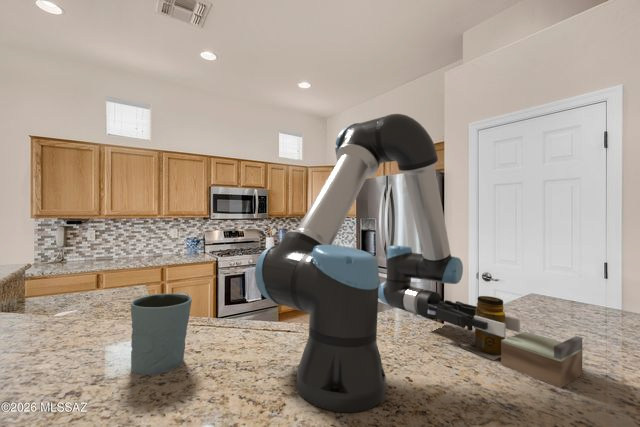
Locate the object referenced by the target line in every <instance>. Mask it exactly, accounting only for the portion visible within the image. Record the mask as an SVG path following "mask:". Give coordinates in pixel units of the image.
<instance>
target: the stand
mask: <svg viewBox="0 0 640 427" xmlns="http://www.w3.org/2000/svg"><path fill="white" fill-rule="evenodd" d="M500 365H501V366H504V367H506V368H509V369H511V370H514V371H517V372H519V373H521V374H524V375H526V376H530V377H531V378H534V379H537V380H539V381H541V382H544V383H546V384H549V385H551V386H554V387H557V388H559V389H562V388H563V387H565V386H566V385H568V384H569V383H571V382H573V381H574V380H575V379H577V378H578V377H580V376H581V375H583V337H581V336H577V335H576V336H573V337H570V338H568V339H567V340H564V341H559V340H556V339H552V338H548V337H545V336H542V335H538V334H534V333H530V332H527V331H523V332H521V333H517V334H515V335H512V336H509V337H505V339H503V340H501V357H500Z"/></svg>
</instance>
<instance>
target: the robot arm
mask: <svg viewBox="0 0 640 427" xmlns="http://www.w3.org/2000/svg"><path fill="white" fill-rule="evenodd" d="M335 146H336V147H335V148H334V149H335V155H336V164H335V166H334V167H333V169H331V171H330V174H329V176H328V177H327V178H326V180H325V182H324V184H323V185H322V187H321V188H320V189H319V192H318V193H317V194H316V197H315V198H314V200H313V202H312V203H311V205H310V207H308V209H307V212H306V213H305V215H304V216H303V218H302V219H301V221H300V223H299V224H298V226H297V228H296V229H292V230H288V231H287V232H285V234H284V236H283V237H282V239H281V241H280V242H279V244H278V245H274V246H273V245H272V246H270V247H268V248H265V250H263V252H261V254H260V255H259V256H258V258H257V260H256V263H255V267H254V279H255V285H256V287H257V290H258V291H259V293H260V294H261V295H262V297H264V298H265V299H267V300H269V301H272V302H273V303H274V304H276V305H280V306H285V307H288V308H290V309H294V310H297V311H299V312H300V311H301V312H303V313H306V314H309V323H308V326H309V327H308V338H307V341H306V344H305V347H304V350H303V352H302V355H301V359H300V361H299V364H298V366H297V369H296V380H295V381H296V389H297V392H298V393H299V394H300V396H301V397H302V398H303V399H304V400H306V401H307V402H308V403H310V404H312V405H313V406H316V407H319V408H321V409H325V410H328V411H333V412H339V413H356V412H364V411H367V410H370V409H373V408H374V407H376V406H378V405H379V404H381V402H382V401H383V400H384V399H385V397H386V392H387V378H386V377H387V376H386V372H385V370H384V368H383V363H382V359H381V354H380V352H379V348H378V342H377V339H378V338H377V337H378V336H377V334H378V333H377V331H378V311H379V309H378V307H379V300H380V301H381V302H382V303H383V304H386V305H387V306H390V307H392V308H396V309H399V310H403V311H405V312H408V313H411V314H413V316H416V317H417V316H421V317H423V318H426V319H428V320H437V319H438V320H439V321H441V322H442V321H443V322H446V323H448V324H452V325H454V326H457V327H459V328H463V329H464V328H467V331H470V332H472V331H473V328H474V329H475V328H476V329H479V330H482V331H486V332H489V333H492V334H495V335H498V336H501V337H505V338H507V337H506V336H507V333H506V332H507V331H506V330H510V331H513V332H517V333H520V332H521V319H520V318H515V317H511V316H507V315H505V324H504V323H501V322H497V321H493V320H490V319H486V318H483V317H479V316H475V310H476V308H477V305H472V304H468V303H463V302H461V301H458V300H457V301H455V302H453V301H452V300H447V299H445V300H444V299H443V297H442V295H441V294H440V293H438V292H437V291H433V290H427V289H424V288H421V287H416V286H412V284H411V283H412V279H416V280H417V279H418V280H424V281H431V282H436V283H441V284H448V285H450V284H451V285H457V284H458V283H460V282H461V280H462V279H463V278H462V277H463V272H464V270H463V269H464V266H463V261H462V260H461V259H460V257H458V256H452V254H451V249H450V248H451V247H450V243H449V238H448V232H447V226H446V222H445V216H444V210H443V204H442V199H441V194H440V189H439V188H440V187H439V183H438V182H439V181H438V178H437V172H436V165H437V164H438V162H439V158H438V153H437V148H436V146H435V143H434V141H433V139H432V137H431V136H430V133H429V132H428V131H427V130H426V128H425V127H424V126H422V124H421V123H420V122H418V121H417V120H416V119H415V118H413V117H410V116H408V115H405V114H402V113H391V114H388V115H384V116H381V117H377V118H374V119H370V120H366V121H363V122H357V123H352V124H350V125H348V126H345V127H344V128H343V129H342V130H341V131H340V132H339V133H338V135H337V137H336V140H335ZM390 162H391V163H392V162H396V163H397V166H398V167H397V168H398V171H399V172H401V173H403V176H404V181H405V185H406V189H407V192H408V197H409V201H410V206H411V211H412V215H413V216H412V217H413V219H414V225H415V228H416V234H417V236H418V240H419V241H418V242H419V246H420V250H421V251H420V252H421V253H417V252H413V249H412V247H411V246H407V245H390V246H388V247H387V253H386V255H387V256H386V278H385V281H382V282H381V281H380V275H379V262H378V260H377V258H376V257H375V256H374V255H373V254H372V253H370V252H368V251H365V250H361V249H358V248H353V247H348V246H341V245H336V244H335V245H334V242H335V239H336V237H337V236H338V234H339V232H340V230H341V228H342V226H343V224H344V222H345V221H346V218H347V216H348V215H349V213H350V211H351V209H352V206H353V205H354V203H355V201H356V199H357V197H358V195H359V193H360V191H361V189H362V187H363V185H364V184H365V181H367V179H369V178H372V177H373V176H374V175H375V174H377V171H378V169H379V167H380V166H381V164H383V163H390ZM380 282H381V283H380Z"/></svg>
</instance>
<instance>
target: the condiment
mask: <svg viewBox="0 0 640 427" xmlns="http://www.w3.org/2000/svg"><path fill="white" fill-rule="evenodd" d="M476 306H477V308H476V310H475V316H479V317H483V318H486V319H490V320H493V321H497V322H501V323H504V324H505V316H506V313H505V311H504V301H503V299H501V298H499V297H494V296H488V295H480V296H478V297H477V303H476ZM503 339H506V337H501V336H498V335H495V334H492V333H489V332H486V331H482V330H479V329H476V328H474V343H469V344H467V345H462V346H461V347H462V348H463V349H465V350H467V351H469V352H472V353H474V354H477V355H479V356H482V357H484V358H487V359H490V360H493V361H495V360H498V359H501V340H503Z"/></svg>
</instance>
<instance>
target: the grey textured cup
mask: <svg viewBox="0 0 640 427" xmlns="http://www.w3.org/2000/svg"><path fill="white" fill-rule="evenodd" d="M192 300H193V299H192V296H190V295H187V294H183V293H157V294H156V293H155V294H149V295H145V296H141V297H138V298H136V299H133V300H132V301H131V302H130V316H131V338H130V339H131V345H130V347H131V351H130V353H131V354H130V355H131V356H130V364H131V365H130V368H131V371H132V373H134V374H136V375H141V376H154V375H161V374H165V373H168V372H171V371H172V370H175V369H177V368H178V367H180V366H181V365H182V364H183V362H184V358H185V350H186V338H187V329H188V325H189V321H190V320H189V319H190V315H191V314H190V313H191V306H192Z"/></svg>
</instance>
